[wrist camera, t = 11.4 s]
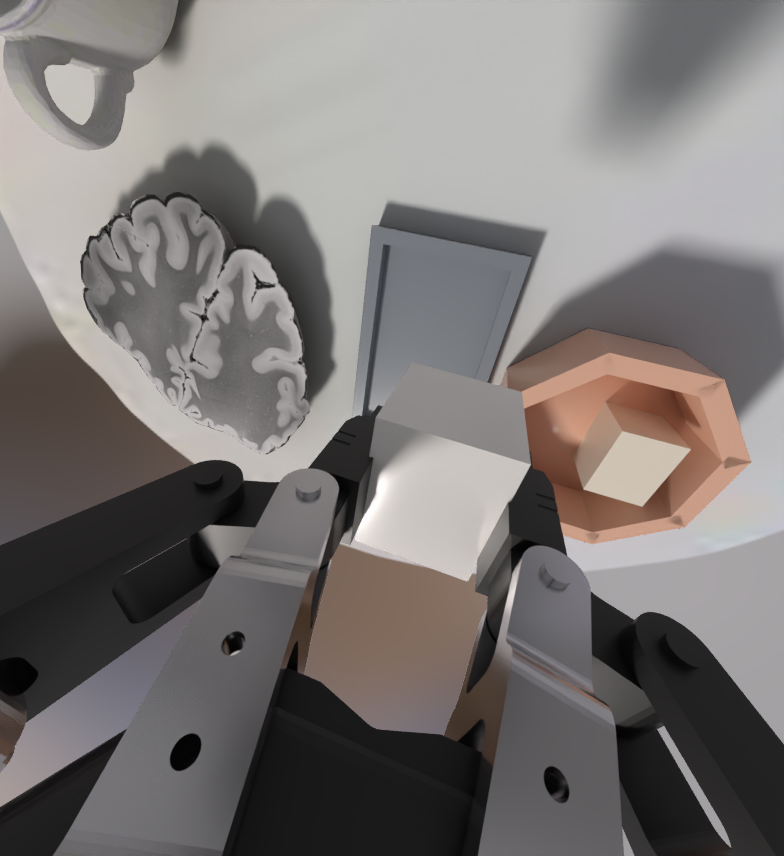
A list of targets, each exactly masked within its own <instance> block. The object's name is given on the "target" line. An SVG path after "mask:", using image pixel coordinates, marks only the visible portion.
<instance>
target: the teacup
mask: <svg viewBox="0 0 784 856" xmlns="http://www.w3.org/2000/svg"><path fill="white" fill-rule="evenodd" d="M177 6H178V0H0V35H1V36H4V37H5V40H6V41H5V45H4V54H3V59H4V70H5V73H6V77H7V80H8V83H9V86H10V88H11V90H12V92H13V94H14V96H15V98H16V99H17V101H18V102H19V103H20V105H21V106H22V108H23V109H24V111H25V112H26V113H27V114H28V115H29V116H30V117H31V119H32V120H33V121H34V122H35V123H36V124H37V125H38V126H39V127H40V128H42V129H43V130H44V131H45V132H47V133H48V134H49V135H51V136H52V137H54V138H55V139H57V140H59V141H61V142H62V143H64V144H67V145H69V146H72V147H74V148H77V149H83V150H96V149H102V148H105V147H107V146H109V145H110V144H112V143H113V142H114V141H115V140H116V138H117V137H118V134H119V132H120V130H121V126H122V122H123V117H124V111H125V101H126V94H127V93H129V92H131V91H132V89H133V87H134V77H133V72H134V70H137V69H140V68H141V67H143V66H145V65H147V64H148V63H150V62H151V61H152V60H153V59H154V58H155V57H156V56H157V55H158V53H159V52H160V51H161V49H162V48H163V47H164V45H165V43H166V41H167V39H168V37H169V35H170V33H171V30H172V27H173V24H174V20H175V16H176V11H177ZM68 63H70V64H73V65H76V66H79V67H82V68H86V69H90V70H92V72H93V74H94V80H95V99H94V106H93V110H92V113H91V116H90V118H89V119H88V121H87V122H86V123H85V124H84V125H80V124H77V123H75V122H74V121H72V120H71V119H69V118H68V117H67V116H66V115H65V114H64V113H63V112H62V111H61V110H59V108H58V107H57V106H56V104H55V103H54V101H53V100H52V98H51V96H50V93H49V91H48V89H47V86H46V81H45V75H44V71H45V69H46V68H47V66H49V65H66V64H68Z"/></svg>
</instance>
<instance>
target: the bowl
mask: <svg viewBox="0 0 784 856" xmlns="http://www.w3.org/2000/svg"><path fill="white" fill-rule="evenodd" d="M500 386H502V387H505V388H509V389H513V390H516V391H520V392H522V397H523V405H524V413H525V421H526V429H527V437H528V445H529V450H530V452H531V457H532V464H533V469H536V470H539V471H542V472H544V473H545V475H546V476H547V478H548V479H549V481H550V482H551V484H552V485H553V489H554V493H555V498H556V499H555V502H556V503H557V508H558V511H557V513H559V518H560V523H561V528H562V533H563V535H565V536H568V537H571V538H574V539H577V540H580V541H584V542H587V543H590V544H595V543H601V542H606V541H612V540H617V539H623V538H628V537H633V536H639V535H644V534H650V533H655V532H660V531H666V530H671V529H677V528H682V527H685V526H686V525H687V524H688V523H690V522H691V521H692V520H693V519H694V518H695V517H696V516H697V515H698V514H699V513H700V512H701V511H702V510H703V509H704V508H705V507H706V506H707V505H708V504H709V503H710V502H711V501H712V500H713V499H714V498H715V497H716V496H717V495H718V494H719V493H720V492H721V491H722V490H723V489H724V488H725V487H726V486H727V485H728V484H729V483H730V482H731V481H732V480H733V479H734V478H735V477H736V476H737V475H738V474H739V473H740V472H742V471H743V470H744V469H745V468H746V467H747V466H748V465H749V464H750V463H751V460H750V457H749V454H748V451H747V448H746V445H745V442H744V439H743V436H742V432H741V429H740V426H739V423H738V420H737V417H736V414H735V411H734V408H733V404H732V401H731V398H730V395H729V392H728V389H727V386H726V383H725V380H724V379H723V378H721V377H720V376H718V375H717V374H715V373H714V372H713V371H711V370H710V369H708V368H707V367H705V366H704V365H702V364H701V363H699V362H698V361H696V360H695V359H693V358H692V357H691V356H689V355H688V354H686V353H685V352H683V351H682V350H680V349H678V348H673V347H669V346H665V345H660V344H656V343H651V342H647V341H643V340H638V339H634V338H629V337H625V336H621V335H616V334H612V333H607V332H603V331H598V330H594V329H590V328H587V329H585V330H583V331H581V332H579V333H577V334H575V335H573V336H571V337H569V338H567V339H565V340H563V341H561V342H559V343H557V344H555V345H553V346H550V347H548V348H546V349H544V350H542V351H540V352H538V353H536V354H534V355H532V356H530V357H528V358H526V359H524V360H522V361H520V362H518V363H516V364H514V365H512V366H510V367H508V368H507V369H506V372H505V375H504V377H503V380H502V382H501V385H500ZM605 402H608V403H612V404H616V405H620V406H624V407H628V408H632V409H635V410H639V411H643V412H647V413H651V414H655V415H659V416H663V417H664V418H665V419H666V420H667V422H668V423H669V424H670V425H671V426H672V427H673V429H674V430H675V431H676V432H677V433H678V434H679V436H680V437H681V438H682V439H683V440H684V441H685V443H686V444H687V445H688V446H689V447H690V448H691V450H690V451H689V452H688V454H687V455H686V456H685V457H684V458H683V460H682V461H681V462H680V463H679V464H678V465H677V467H676V468H675V469H674V470H673V471H672V472H671V474H670V475H669V476H668V477H667V478H666V479H665V481H664V482H663V483H662V484H661V485H660V487H659V488H658V489H657V490H656V491H655V492H654V494H653V495H652V496H651V497H650V498H649V499H648V501H647V502H646V503H645V504H644V505H643V506H642V507H641V506H638V505H635V504H631V503H628V502H624V501H621V500H618V499H614V498H611V497H607V496H604V495H601V494H597V493H594V492H590V491H587V490H584V489H583V487H582V484H581V481H580V478H579V474H578V471H577V468H576V465H575V462H574V458H573V454H574V453H575V451H576V449H577V448H578V446H579V444H580V443H581V441H582V439H583V438H584V436H585V434H586V433H587V431H588V429H589V428H590V426H591V424H592V423H593V421H594V419H595V418H596V416H597V414H598V413H599V411H600V409H601V408H602V406H603V404H604V403H605Z"/></svg>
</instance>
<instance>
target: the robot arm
mask: <svg viewBox="0 0 784 856" xmlns="http://www.w3.org/2000/svg"><path fill="white" fill-rule="evenodd" d="M382 407H383V406H380V405H378V406H377V407H376V409H375V410H374V412H373V413H372V415H371V416H370V417H369V418H367V417H363V416H360V415H358V416H355V417H353V418H351V419H349V420H347V421H346V422H345V423H344V424H343V425H342V427H341V428H340V429H339V431H338V432H337V433H336V434H335V435H334V437H333V438H332V440H330V442H329V443H328V444H327V445H326V447H325V448H324V449H323V450H322V452H321V453H320V454H319V455H318V457H317V458H316V459H315V460H314V462H313V463H312V464H311V465H310V467H309V468H306V469H300V470H296V471H293V472H291V473H289V474H287V475H286V476H285V477H284V478H283V479H282V480H281V481H280V482H258V481H244V480H243V474H242V471H241V469H240V468H239V467H238V466H236V465H235V464H233V463H231V462H227V461H222V460H210V461H204V462H200V463H197V464H194V465H191V466H189V467H187V468H184V469H182V470H179V471H177V472H175V473H172V474H170V475H167V476H165V477H163V478H160V479H158V480H156V481H153V482H151V483H148V484H146V485H144V486H141V487H139V488H136V489H134V490H132V491H130V492H127V493H125V494H122V495H120V496H117V497H115V498H113V499H110V500H108V501H105V502H103V503H101V504H98V505H96V506H94V507H91V508H89V509H86V510H84V511H81V512H79V513H77V514H75V515H72V516H70V517H67V518H65V519H62V520H60V521H58V522H55V523H53V524H51V525H48V526H46V527H43V528H41V529H38V530H36V531H34V532H31V533H29V534H27V535H25V536H22V537H19V538H17V539H15V540H12V541H10V542H7V543H5V544H3V545H0V772H1V771H2V770H3V769H4V768H5V767H6V765H7V764H8V762H9V761H10V759H11V758H12V756H13V753H14V750H15V745H16V743H17V741H18V740H19V738H20V736H21V734H22V732H23V729H24V727H25V723H26V722H27V721H29V720H30V719H32V718H33V717H35V716H36V715H37V714H39V713H40V712H41V711H43V710H44V709H46V708H47V707H49V706H50V705H51V704H53V703H54V702H56V701H57V700H58V699H60V698H61V697H63V696H64V695H66V694H67V693H68V692H70V691H71V690H73V689H74V688H75V687H77V686H78V685H80V684H81V683H82V682H84V681H85V680H87V679H88V678H90V677H91V676H92V675H94V674H95V673H96V672H98V671H99V670H101V669H102V668H104V667H105V666H106V665H108V664H109V663H111V662H112V661H113V660H115V659H116V658H118V657H119V656H120V655H122V654H123V653H125V652H126V651H128V650H129V649H130V648H132V647H133V646H135V645H136V644H137V643H139V642H140V641H142V640H143V639H144V638H146V637H147V636H149V635H150V634H151V633H153V632H154V631H156V630H157V629H159V628H160V627H161V626H163V625H164V624H166V623H167V622H168V621H170V620H171V619H173V618H174V617H175V616H177V615H178V614H180V613H181V612H182V611H184V610H185V609H187V608H188V607H190V606H191V605H192V604H194V603H195V602H196V601H198V600H199V599H201V598H202V599H201V600H200V602H199V604H198V606H197V608H196V609H195V611H194V613H193V614H192V617H191V618H190V620H189V621H188V623H187V625H186V627H185V628H184V630H183V632H182V634H181V635H180V637H179V639H178V641H177V642H176V644H175V646H174V648H173V650H172V651H171V653H170V655H169V656H168V658H167V660H166V662H165V664H164V665H163V667H162V669H161V670H160V672H159V674H158V676H157V677H156V679H155V681H154V683H153V684H152V686H151V688H150V690H149V691H148V693H147V695H146V697H145V699H144V700H143V702H142V704H141V705H140V707H139V709H138V711H137V712H136V714H135V716H134V718H133V719H132V721H131V723H130V725H129V726H128V728H127V729H126V730H124V731H123V732H121V733H119V734H118V735H116V736H114V737H113V738H111V739H110V740H108V741H106V742H105V743H103V744H101V745H100V746H98V747H97V748H95V749H93V750H92V751H90V752H89V753H87V754H85V755H84V756H82V757H80V758H79V759H77V760H76V761H74V762H72V763H71V764H69V765H67V766H66V767H64V768H63V769H61V770H59V771H58V772H56V773H55V774H53V775H51V776H50V777H48V778H46V779H45V780H43V781H42V782H40V783H38V784H37V785H35V786H34V787H32V788H30V789H29V790H27V791H26V792H24V793H22V794H21V795H19V796H17V797H16V798H14V799H13V800H11V801H9V802H8V803H6V804H5V805H3V806H1V807H0V856H624V852H623V851H624V850H623V834H622V827H623V829H624V832H625V834H626V837H627V839H628V841H629V843H630V846H631V848H632V850H633V853H634V855H635V856H784V744H783V743H782V742H781V740H780V739H779V738H778V737H777V735H776V734H775V733H774V732H773V730H772V729H771V728H770V727H769V725H768V724H767V723H766V721H765V720H764V719H763V718H762V716H761V715H760V714H759V713H758V711H757V710H756V709H755V708H754V706H753V705H752V704H751V703H750V701H749V700H748V699H747V698H746V696H745V695H744V694H743V692H742V691H741V690H740V689H739V687H738V686H737V685H736V683H735V682H734V681H733V680H732V678H731V677H730V676H729V675H728V673H727V672H726V671H725V670H724V668H723V667H722V666H721V664H720V663H719V662H718V661H717V659H716V658H715V657H714V656H713V654H712V653H711V652H710V651H709V649H708V648H707V647H706V646H705V645H704V644H703V643H702V642H701V640H700V639H699V638H698V637H696V636H695V635H694V634H693V633H692V632H691V631H690V630H688V629H687V628H686V627H684V626H683V625H682V624H680V623H678V622H677V621H675V620H673V619H671V618H670V617H668V616H665V615H662V614H658V613H655V612H647V613H644V614H641V615H640V616H639V617H637V618H636V619H635V620H633V619H632V618H630V617H629V616H627V615H625V614H624V613H622V612H621V611H619V610H617V609H616V608H614V607H613V606H611V605H609V604H608V603H606V602H605V601H603V600H602V599H600V598H599V597H597V596H596V595H594V594H593V593H592V592H591V591H590V586H589V582H588V580H587V578H586V576H585V575H584V573H583V571H582V570H581V569H580V568H579V566H578V565H577V564H576V563H575V562H574V561H572V560H571V559H570V558H569V557H568V556H567V553H566V548H565V543H564V538H563V533H562V528H561V523H560V518H559V513H557V511H558V508H557V503H556V502H555V499H556V498H555V493H554V489H553V485H552V484H551V482H550V481H549V479H548V478H547V476H546V475H545V473H544V472H542V471H539V470H536V469H533V464H532V457H531V452H530V450H529V453H530V461H531V465H530V467H529V469H528V471H527V473H526V475H525V476H524V478H523V480H522V482H521V484H520V486H519V488H518V489H517V491H516V493H515V495H514V497H513V499H512V500H511V502H508V503H507V505H506V507H505V509H504V510H503V512H502V514H501V516H500V518H499V520H498V522H497V524H496V525H495V527H494V529H493V531H492V533H491V535H490V537H489V538H488V540H487V542H486V544H485V546H484V548H483V550H482V551H481V553H480V555H479V557H478V560H477V574H476V588H475V591H476V592H478V593H481V594H483V595H486V596H488V606H487V610H486V611H485V613H484V614H483V616H482V618H481V621H480V624H479V628H478V631H477V635H476V639H475V642H474V646H473V649H472V653H471V656H470V660H469V664H468V667H467V671H466V674H465V678H464V682H463V685H462V689H461V692H460V695H459V698H458V701H457V704H456V706H455V708H454V710H453V712H452V714H451V717H450V719H449V722H448V724H447V727H446V730H445V733H444V736H443V735H439V734H427V733H414V732H401V731H389V730H379V729H375V728H373V727H371V726H370V725H368V724H367V723H366V722H365V721H364V720H363V719H362V718H361V717H359V716H358V715H357V714H356V713H355V712H354V711H353V710H352V709H350V708H349V707H348V706H347V705H346V704H345V703H344V702H343V701H341V700H340V699H339V698H338V697H337V696H336V695H335V694H334V693H332V692H331V691H330V690H329V689H328V688H327V687H326V686H324V685H323V684H322V683H321V682H319V681H317V680H315V679H312V678H310V677H308V676H305V675H304V672H305V668H306V663H307V658H308V653H309V647H310V642H311V638H312V634H313V630H314V626H315V622H316V618H317V614H318V610H319V607H320V602H321V599H322V595H323V591H324V587H325V584H326V579H327V576H328V572H329V568H330V564H331V558H332V557H333V555H334V553H335V551H336V549H337V547H338V545H339V543H340V542H343V543H346V544H349V545H350V544H351V542H352V540H353V538H354V536H355V534H356V532H357V529H358V527H359V525H360V523H361V521H362V519H363V515H364V509H365V503H366V498H367V492H368V487H369V481H370V475H371V470H372V464H373V459H374V458H372V457H369V455H370V449H371V443H372V437H373V431H374V425H375V419H376V416H377V415H378V413H379V412H380V410H381V409H382ZM186 538H187V539H186ZM184 539H186V540H184ZM182 540H184V541H183V542H181V543H179V542H180V541H182ZM177 543H179V544H177ZM175 544H177V545H176V546H174V547H172V546H173V545H175ZM170 547H172V548H170ZM168 548H170V549H169V550H167V551H165V552H163V551H164V550H166V549H168ZM161 552H163V553H162V554H160V555H158V556H156V555H157V554H159V553H161ZM154 556H156V557H154ZM152 557H154V558H153V559H151V560H149V561H147V560H148V559H150V558H152ZM145 561H147V562H146V563H144V564H142V565H140V564H141V563H143V562H145ZM138 565H140V566H139V567H137V568H135V569H133V568H134V567H136V566H138ZM131 569H133V570H131ZM129 570H131V571H130V572H128V573H126V572H127V571H129ZM125 573H126V574H125ZM123 574H124V575H123ZM662 726H665V728H666V730H667V731H668V733H669V735H670V736H671V738H672V740H673V741H674V743H675V745H676V747H677V748H678V750H679V752H680V753H681V755H682V757H683V758H684V760H685V762H686V763H687V765H688V767H689V769H690V770H691V772H692V774H693V775H694V777H695V778H696V780H697V782H698V783H699V785H700V787H701V789H702V790H703V792H704V794H705V795H706V797H707V799H708V801H709V802H710V804H711V806H712V807H713V809H714V811H715V812H716V814H717V816H718V817H719V819H720V821H721V823H722V825H723V826H724V828H725V830H726V833H727V835H728V837H729V840H730V843H731V847H732V848H730V847H729V846H728V845H727V844H726V843H725V842H724V841H723V839H722V838H721V837H720V836H719V835H718V833H717V832H716V830H715V829H714V827H713V826H712V824H711V822H710V821H709V819H708V817H707V815H706V814H705V812H704V810H703V808H702V807H701V805H700V804H699V801H698V800H697V798H696V796H695V795H694V793H693V791H692V790H691V788H690V786H689V784H688V782H687V781H686V779H685V777H684V775H683V774H682V772H681V770H680V768H679V767H678V765H677V763H676V762H675V760H674V758H673V756H672V754H671V753H670V751H669V749H668V747H667V746H666V744H665V742H664V741H663V739H662V737H661V735H660V734H659V732H658V730H657V729H658V728H660V727H662Z"/></svg>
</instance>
